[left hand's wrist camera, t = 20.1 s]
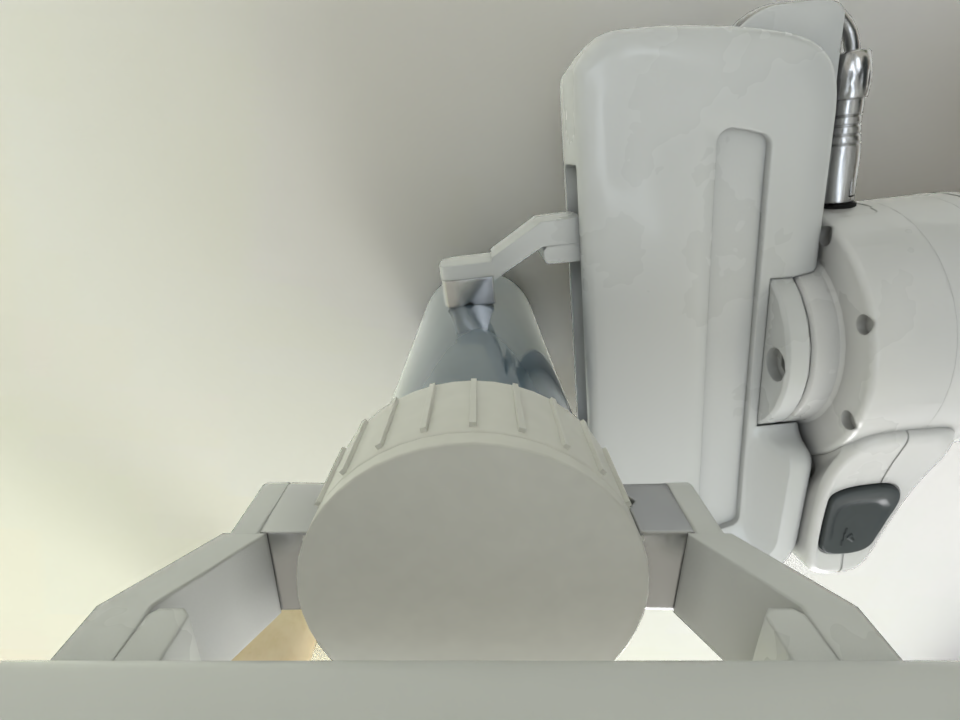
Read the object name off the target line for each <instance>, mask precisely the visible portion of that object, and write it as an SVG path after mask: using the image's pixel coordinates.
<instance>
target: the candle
mask: <svg viewBox="0 0 960 720" xmlns="http://www.w3.org/2000/svg"><path fill="white" fill-rule="evenodd" d="M315 645H316V639H315V638H314V636H313V635H312V633H311V631H310V630H309V627H308V625H307V623H306V620H305V618H304V616H303V613H302V609H300V610H281V613H280V614H279V615H278V616H277V617H276V618H275V619H274V620H273V621H272V622H271V623H270V624H269V625H268V626H267V627H266V628H265V629H264V630H263V631H262V632H261V633H259V634H258V635H257V636H256V637H255V638H254V639H253V640H252V641H251V642H250V643H249V644H248V645H247V646H246V647H245V648H244V649H243V650H242V651H241V652H240V653H239V654H238V655H236V656H235V657H234V658H233V659H232V660H231V661H310V660H311V657H312V654H313V651H314V648H315Z"/></svg>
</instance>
